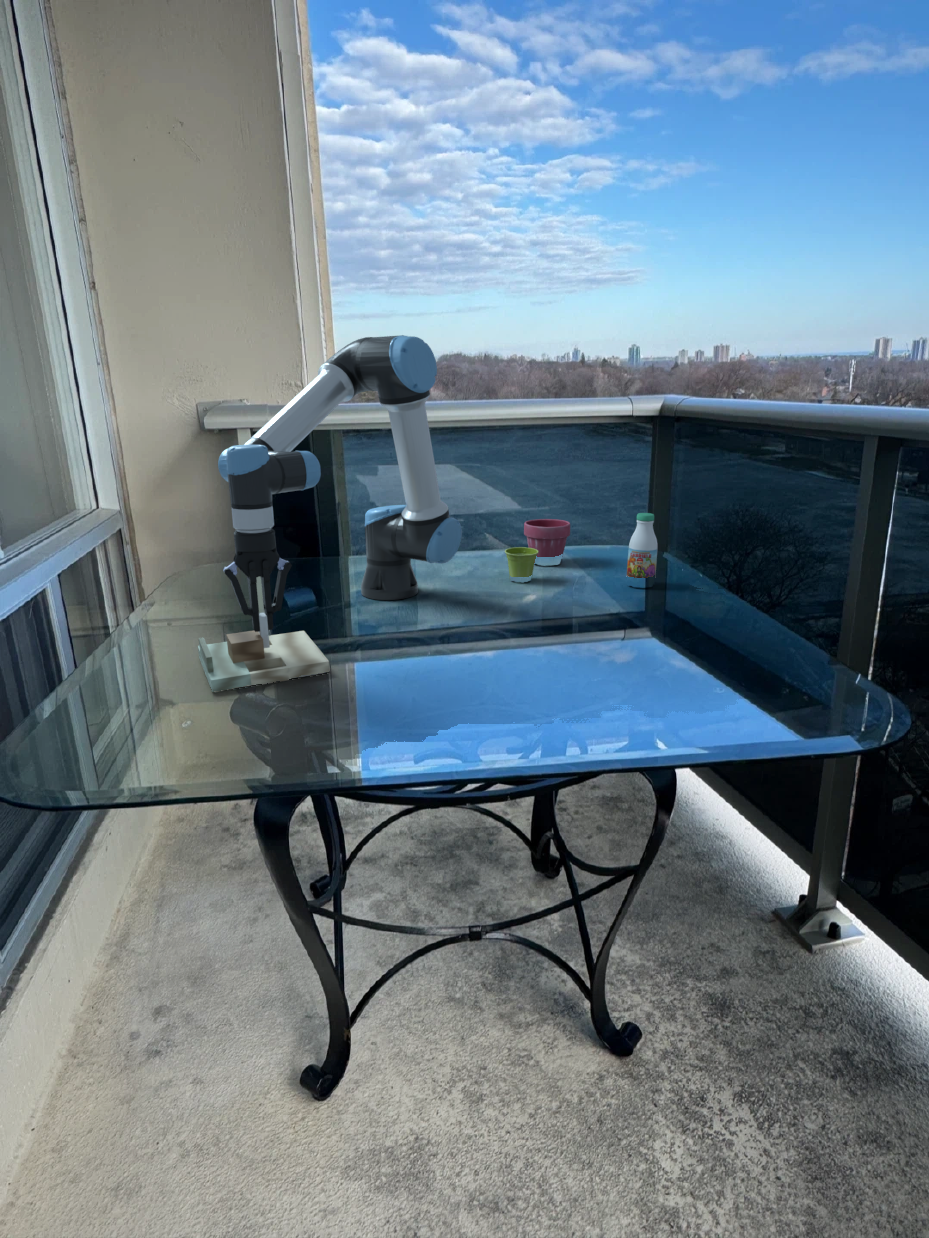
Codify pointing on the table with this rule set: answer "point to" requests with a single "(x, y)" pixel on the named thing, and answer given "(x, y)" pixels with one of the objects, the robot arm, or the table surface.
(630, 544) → the milk bottle
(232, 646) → the block
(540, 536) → the plant pot
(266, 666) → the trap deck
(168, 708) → the table surface
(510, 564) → the plant pot
